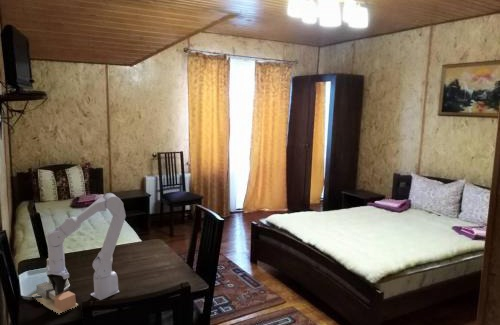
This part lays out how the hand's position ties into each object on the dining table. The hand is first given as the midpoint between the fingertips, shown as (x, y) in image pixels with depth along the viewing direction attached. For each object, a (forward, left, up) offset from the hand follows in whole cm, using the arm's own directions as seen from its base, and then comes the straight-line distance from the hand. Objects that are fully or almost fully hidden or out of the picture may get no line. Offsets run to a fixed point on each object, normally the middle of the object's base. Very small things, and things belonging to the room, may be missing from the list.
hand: (58, 290), depth 155 cm
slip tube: (0, -3, -4) cm, 5 cm away
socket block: (0, +5, -6) cm, 8 cm away
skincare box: (-10, -22, -6) cm, 25 cm away
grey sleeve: (0, -11, -6) cm, 13 cm away
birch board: (0, -4, -6) cm, 8 cm away
